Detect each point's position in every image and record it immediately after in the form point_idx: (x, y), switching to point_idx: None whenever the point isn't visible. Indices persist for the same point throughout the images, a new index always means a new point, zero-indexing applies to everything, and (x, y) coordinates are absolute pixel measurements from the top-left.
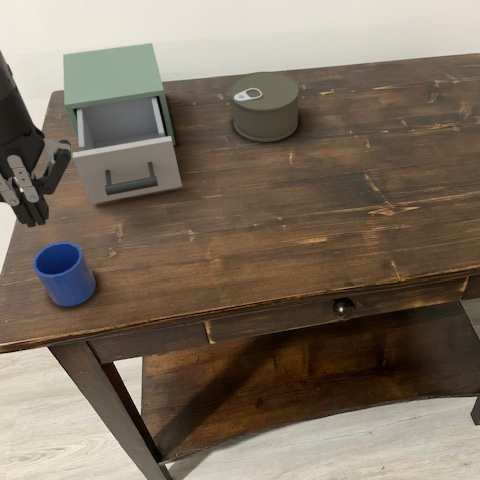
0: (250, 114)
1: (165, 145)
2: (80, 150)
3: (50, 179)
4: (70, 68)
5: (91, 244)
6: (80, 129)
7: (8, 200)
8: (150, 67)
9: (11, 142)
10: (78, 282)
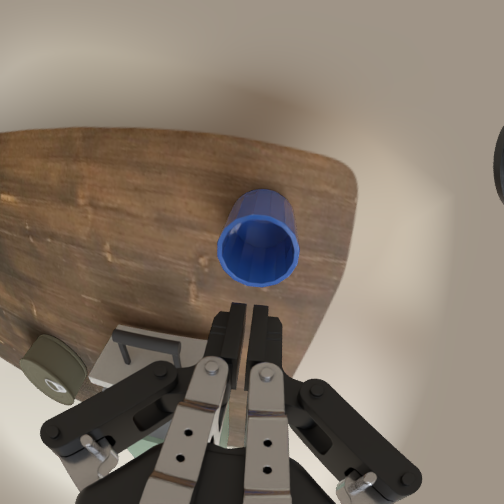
0: (52, 368)
1: (98, 374)
2: None
3: (131, 398)
4: None
5: (230, 286)
6: None
7: (275, 381)
8: (134, 451)
9: None
10: (240, 206)
